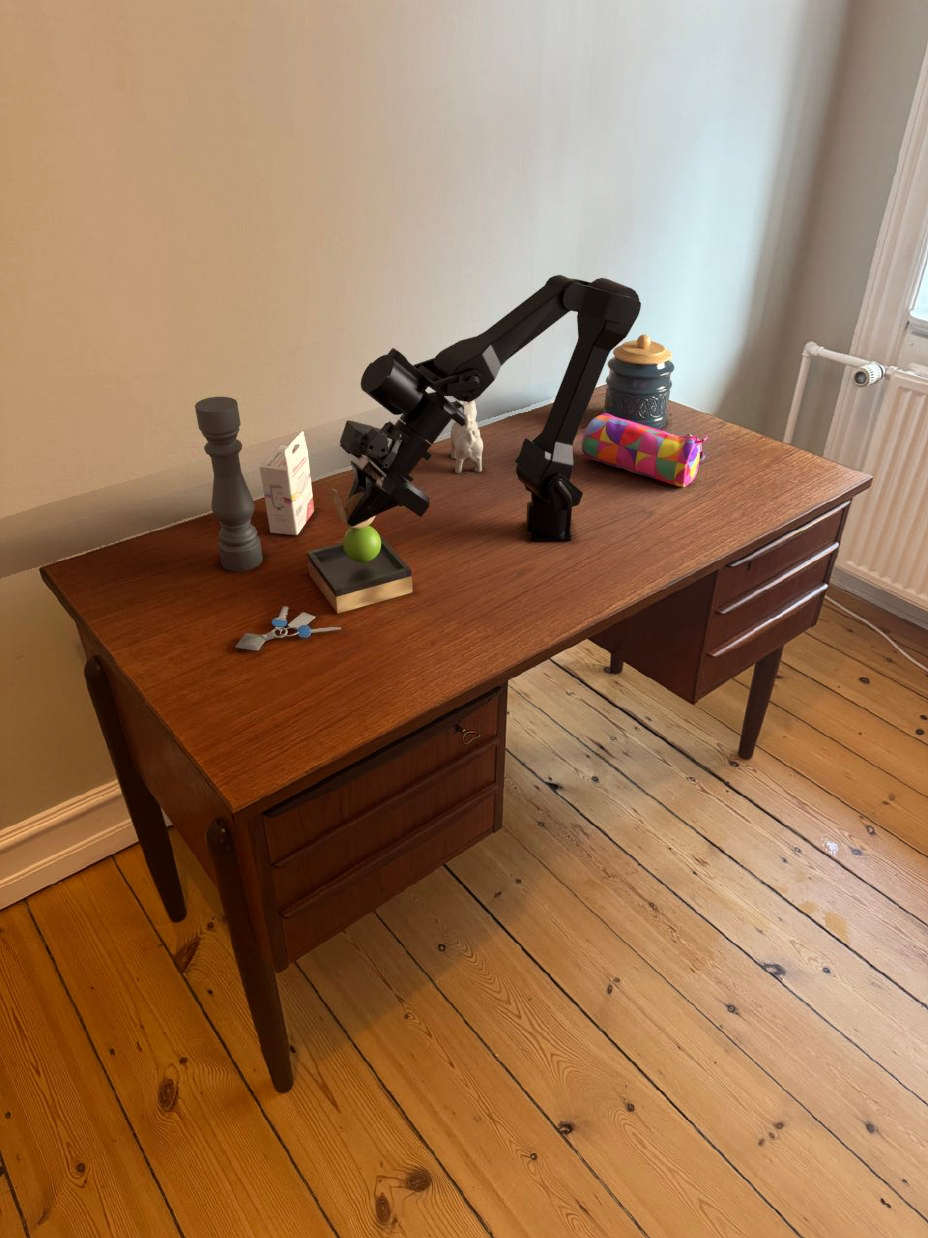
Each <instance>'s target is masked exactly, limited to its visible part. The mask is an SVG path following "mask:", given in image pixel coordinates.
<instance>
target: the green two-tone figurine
mask: <svg viewBox="0 0 928 1238" xmlns="http://www.w3.org/2000/svg"><path fill="white" fill-rule="evenodd" d="M331 492H332V495H333V499H332V501H333V505H335V509H336V512H337V515H338V518H339V520H340V521H341V523H342V524H343V526H345V527H346V528H348V529H347V531H346V532H345V534H344V535H343V538H342V543H343V548H344V551H345V553H346V555H347V556H348V557H349V558H350V559H352V560H354V561H356V562H361V563H363V562H368V561H371V560H372V559H374V558H375V557H376V556H377V555H378V553H379V551H380V548H381V539H380V536H379V534H380V533H378V531H377V530H376V529H375V528H374V527H372V526H371V524H372V522H373V521H374V520H375V518H376V516H374V517H372V518H370V519H368V520H366V521H364V522H362V523H360V524H358V525H356V526H354V527H352V526H350V525H349V524H348V523H347V521H348V519H349V518H350V516H351V514H352V512H353V511H354V509H355V507H356V506H357V504H358V503H359V501H360V500H361V498H362V496H363V495H364V493H357V494H355V495H353V496H352V497H351V498H350V499H349V500H348V499H347V500H348V502H347V501H346V503H347V504H346V503H345V505H346V507H345V505H344V498H343V496H341V495H337V494H338V490H337V489H335V488H334V487H332V488H331Z"/></svg>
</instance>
